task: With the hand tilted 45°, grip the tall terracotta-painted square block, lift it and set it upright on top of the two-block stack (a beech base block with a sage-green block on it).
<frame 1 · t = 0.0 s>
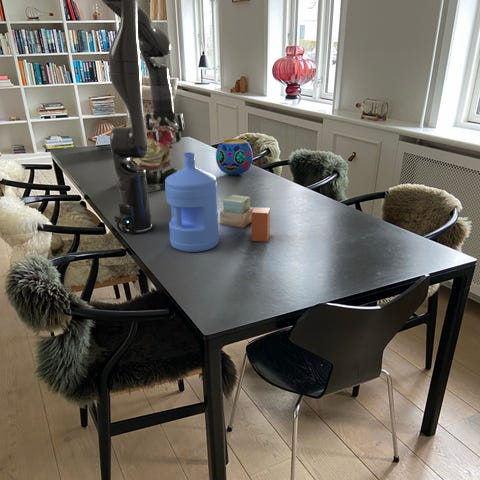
hand: (167, 141, 187), 22 cm above the table, tool pointing down, fingers open, 8 cm apart
house model: (137, 147, 288), on the table
stack: (237, 222, 173), on the table
tall block: (260, 238, 159), on the table
rose bouquet: (152, 185, 217), on the table
ceramic pot: (234, 174, 232), on the table
water jug: (194, 244, 156), on the table
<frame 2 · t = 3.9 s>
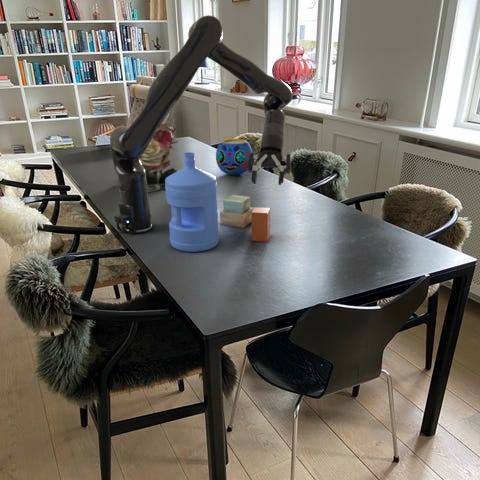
hand: (266, 183, 161), 15 cm above the table, tool tilted 45°, fingers open, 8 cm apart
nothing on the table moved.
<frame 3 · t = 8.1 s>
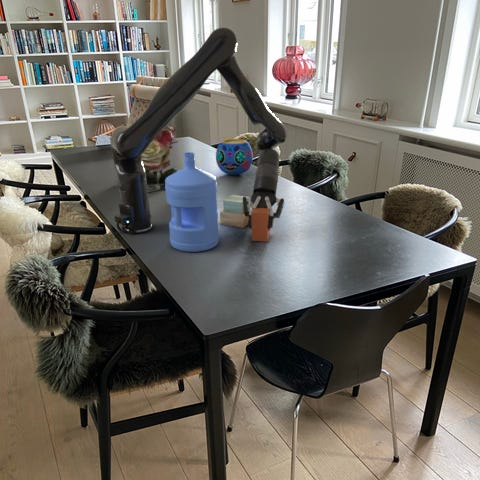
hand: (260, 228, 156), 4 cm above the table, tool tilted 45°, fingers closed on tall block, 5 cm apart
tall block: (260, 238, 159), on the table, touching gripper
everything else where it was.
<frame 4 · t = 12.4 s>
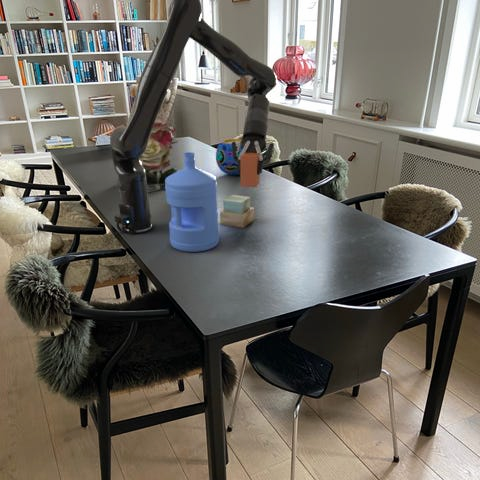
hand: (249, 172, 153), 20 cm above the table, tool tilted 45°, fingers closed on tall block, 5 cm apart
tall block: (250, 184, 157), point 16 cm above the table, touching gripper
everything else where it was.
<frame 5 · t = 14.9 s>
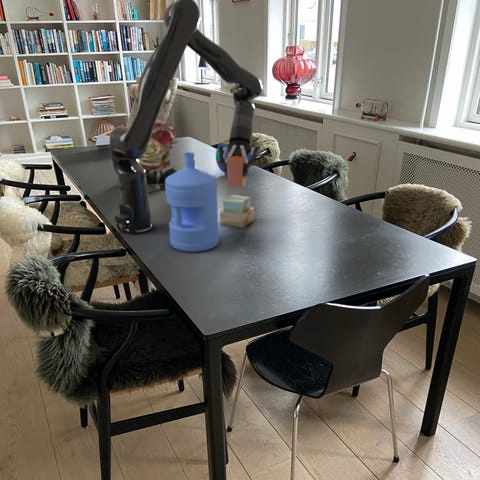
hand: (235, 175, 163), 17 cm above the table, tool tilted 45°, fingers closed on tall block, 5 cm apart
tall block: (236, 186, 167), point 13 cm above the table, touching gripper
everything else where it was.
when the fingers open (13 cm above the table, at t = 16.7 s): tall block stays where it is, resting on stack.
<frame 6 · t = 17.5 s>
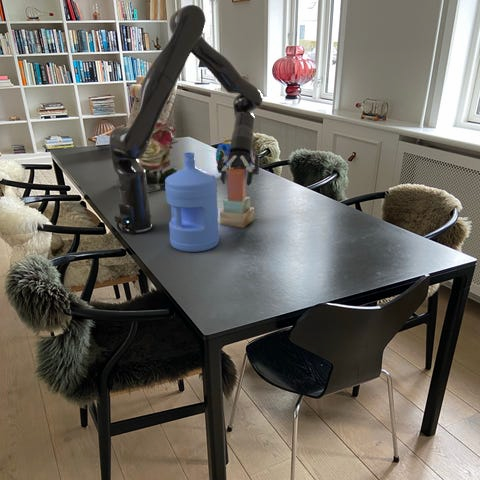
hand: (235, 183, 165), 14 cm above the table, tool tilted 45°, fingers open, 8 cm apart
stack: (237, 222, 173), on the table, touching tall block
tall block: (236, 198, 169), point 9 cm above the table, touching stack
everything else where it was.
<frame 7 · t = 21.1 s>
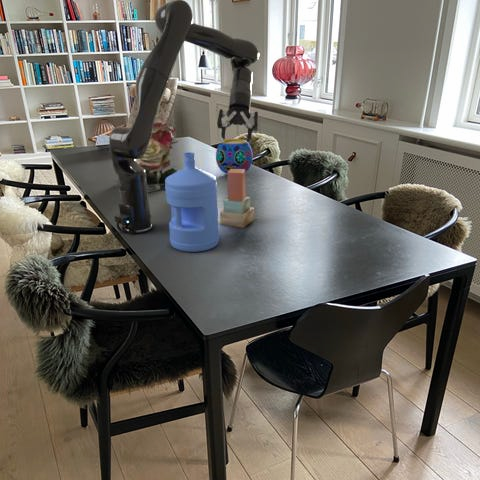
hand: (236, 139, 171), 26 cm above the table, tool tilted 40°, fingers open, 8 cm apart
nothing on the table moved.
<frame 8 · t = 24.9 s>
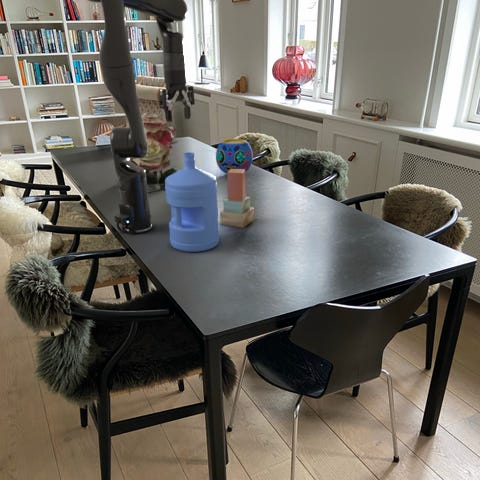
hand: (178, 120, 170), 32 cm above the table, tool pointing down, fingers open, 8 cm apart
nothing on the table moved.
at the end: tall block 0.1 cm off-centre on the stack, point 8.5 cm above the stack's base; tall block tilted 0°; the gripper is holding nothing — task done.
